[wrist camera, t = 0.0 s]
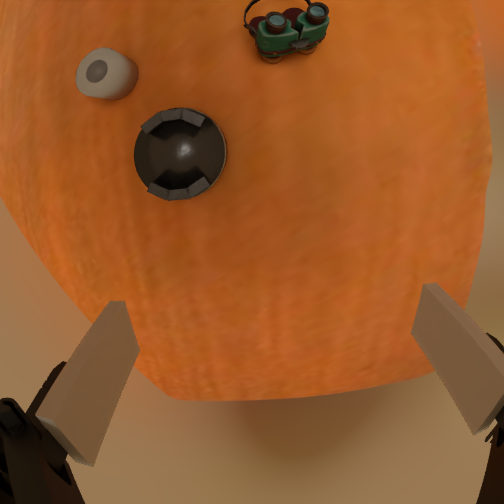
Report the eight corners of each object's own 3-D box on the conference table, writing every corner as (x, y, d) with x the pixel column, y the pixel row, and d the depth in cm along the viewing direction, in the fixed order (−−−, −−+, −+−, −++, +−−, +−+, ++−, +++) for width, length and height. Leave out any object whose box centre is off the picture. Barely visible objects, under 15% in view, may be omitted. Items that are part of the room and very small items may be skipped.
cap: (97, 64, 30) (75, 55, 24) (138, 52, 30) (119, 41, 24) (98, 104, 33) (75, 101, 27) (138, 94, 32) (120, 88, 27)
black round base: (141, 117, 34) (124, 114, 29) (225, 105, 33) (221, 100, 28) (149, 197, 38) (134, 207, 33) (230, 190, 38) (227, 199, 33)
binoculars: (306, -42, 18) (349, 23, 20) (296, 1, 28) (327, 57, 31) (226, -24, 19) (263, 43, 22) (234, 17, 29) (262, 75, 32)
